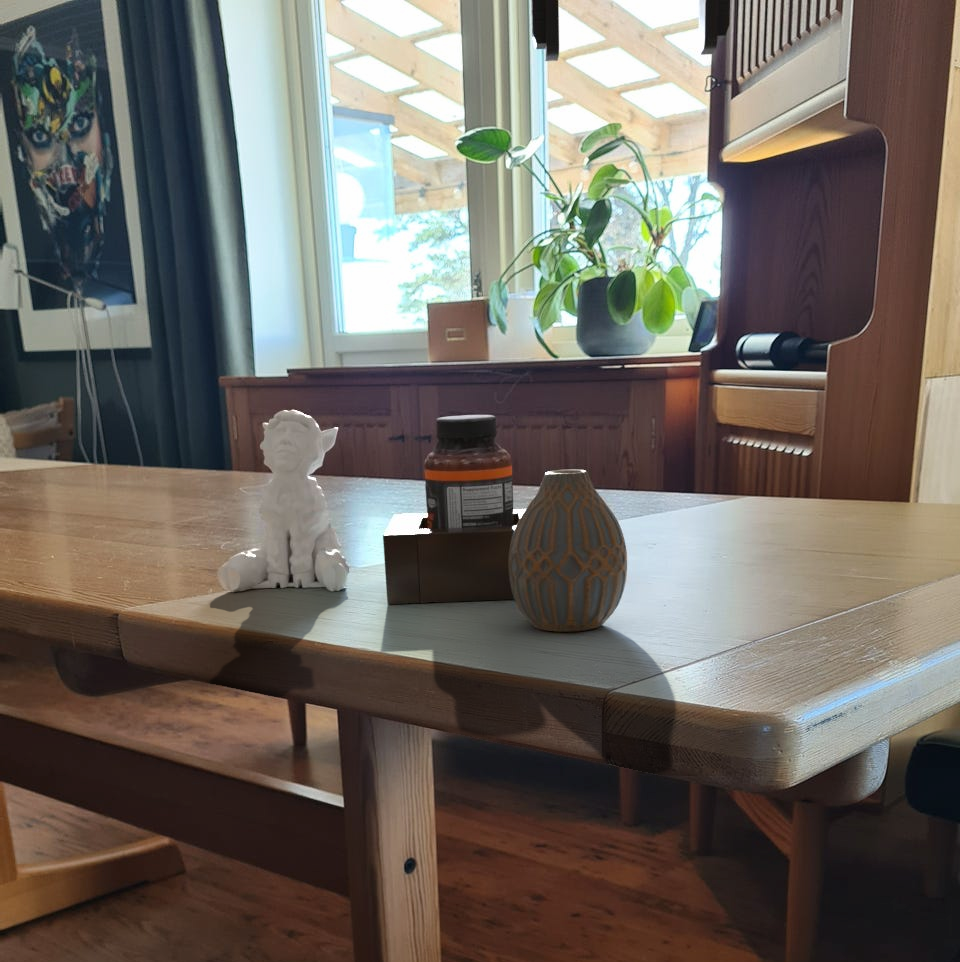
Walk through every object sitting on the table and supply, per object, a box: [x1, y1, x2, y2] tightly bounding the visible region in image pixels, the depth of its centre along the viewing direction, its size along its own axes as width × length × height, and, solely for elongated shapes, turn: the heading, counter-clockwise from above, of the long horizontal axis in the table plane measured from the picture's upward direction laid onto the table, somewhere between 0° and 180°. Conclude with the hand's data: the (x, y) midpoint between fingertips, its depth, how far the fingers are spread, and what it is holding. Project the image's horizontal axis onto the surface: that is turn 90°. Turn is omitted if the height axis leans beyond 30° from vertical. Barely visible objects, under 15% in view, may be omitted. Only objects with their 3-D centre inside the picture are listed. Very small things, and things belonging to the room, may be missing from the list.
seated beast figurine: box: [216, 409, 351, 593], centre depth 92 cm, size 10×9×12 cm
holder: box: [382, 508, 526, 605], centre depth 89 cm, size 11×11×4 cm
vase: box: [508, 469, 628, 633], centre depth 74 cm, size 7×7×9 cm
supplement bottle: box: [424, 414, 515, 529], centre depth 88 cm, size 6×6×11 cm
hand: (630, 55), depth 70 cm, fingers open, 8 cm apart
